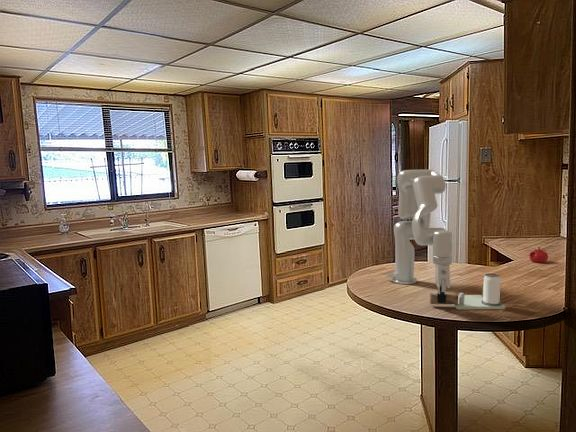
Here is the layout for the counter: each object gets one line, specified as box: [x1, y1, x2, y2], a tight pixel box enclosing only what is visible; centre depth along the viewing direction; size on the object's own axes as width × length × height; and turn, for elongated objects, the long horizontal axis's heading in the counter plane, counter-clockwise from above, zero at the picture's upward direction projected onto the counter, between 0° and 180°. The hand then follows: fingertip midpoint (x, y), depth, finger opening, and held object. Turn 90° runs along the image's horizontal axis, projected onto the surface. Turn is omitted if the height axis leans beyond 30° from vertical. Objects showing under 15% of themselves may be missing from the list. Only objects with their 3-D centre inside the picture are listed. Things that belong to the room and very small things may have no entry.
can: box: [482, 272, 501, 304], centre depth 187 cm, size 6×6×12 cm
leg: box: [429, 292, 459, 305], centre depth 188 cm, size 11×2×4 cm, turn 83°
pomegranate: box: [528, 246, 549, 264], centre depth 263 cm, size 10×10×9 cm
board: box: [451, 282, 506, 310], centre depth 191 cm, size 20×16×7 cm
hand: (441, 302), depth 184 cm, fingers closed
